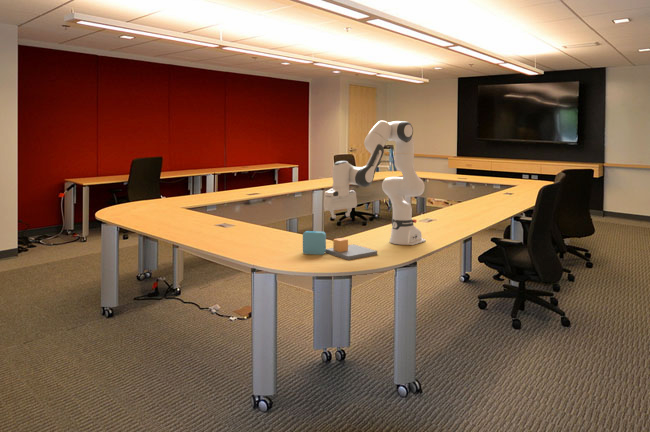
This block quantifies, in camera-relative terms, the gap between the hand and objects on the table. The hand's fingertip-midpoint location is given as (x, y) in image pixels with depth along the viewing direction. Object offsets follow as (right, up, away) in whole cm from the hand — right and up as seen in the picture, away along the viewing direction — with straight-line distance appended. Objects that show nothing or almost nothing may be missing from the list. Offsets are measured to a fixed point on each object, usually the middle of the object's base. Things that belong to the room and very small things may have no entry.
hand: (340, 217), depth 275 cm
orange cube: (0, -18, +3) cm, 18 cm away
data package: (-14, -20, +4) cm, 25 cm away
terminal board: (+6, -20, +4) cm, 21 cm away
